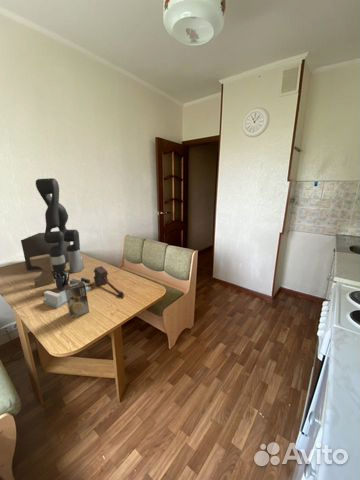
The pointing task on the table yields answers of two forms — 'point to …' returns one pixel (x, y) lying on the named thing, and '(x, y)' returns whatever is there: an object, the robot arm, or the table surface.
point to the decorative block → (43, 270)
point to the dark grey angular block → (39, 249)
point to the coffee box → (76, 299)
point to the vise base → (63, 296)
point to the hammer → (104, 279)
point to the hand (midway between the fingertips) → (62, 286)
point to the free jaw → (80, 281)
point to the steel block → (59, 283)
